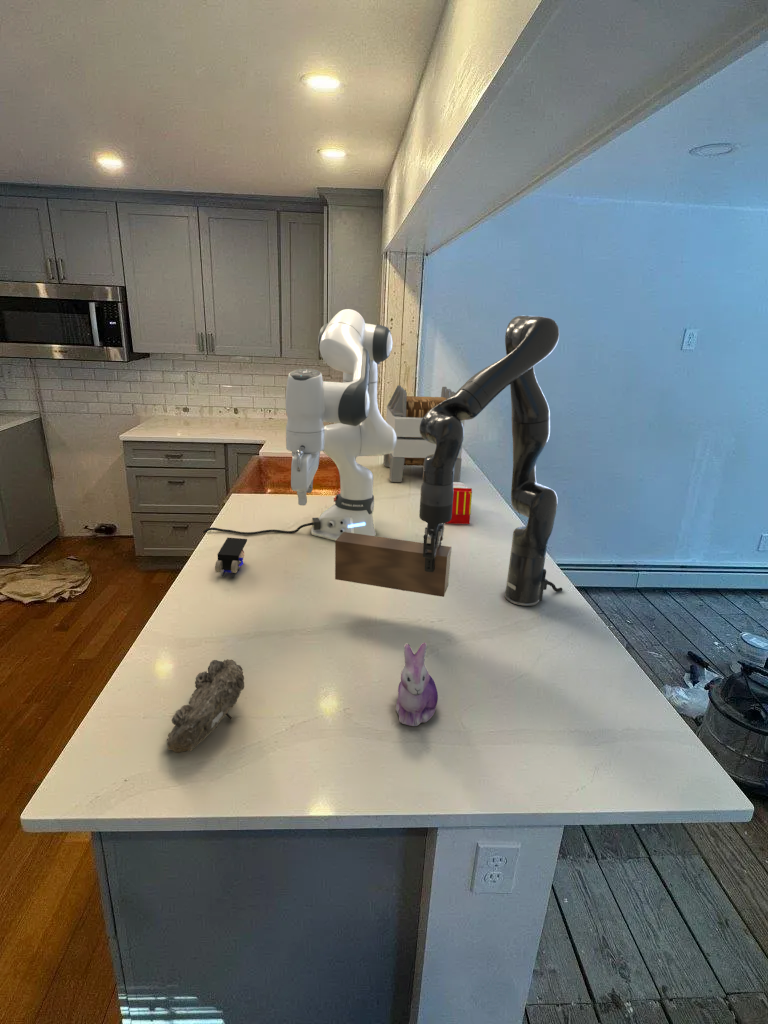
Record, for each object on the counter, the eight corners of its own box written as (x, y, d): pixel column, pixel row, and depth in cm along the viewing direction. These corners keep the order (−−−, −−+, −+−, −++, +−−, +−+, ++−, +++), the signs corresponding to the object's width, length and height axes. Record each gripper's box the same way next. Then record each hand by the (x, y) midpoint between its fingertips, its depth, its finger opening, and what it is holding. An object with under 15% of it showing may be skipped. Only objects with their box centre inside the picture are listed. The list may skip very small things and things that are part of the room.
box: (334, 579, 142) (335, 540, 138) (343, 569, 147) (343, 531, 144) (443, 597, 135) (447, 556, 131) (448, 585, 141) (451, 546, 137)
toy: (463, 477, 236) (476, 489, 206) (461, 509, 239) (474, 525, 209) (433, 476, 235) (443, 488, 206) (432, 508, 238) (441, 524, 209)
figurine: (408, 735, 105) (412, 667, 100) (382, 702, 114) (386, 638, 109) (450, 721, 110) (457, 654, 105) (423, 690, 118) (428, 627, 113)
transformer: (382, 463, 289) (386, 382, 275) (445, 464, 293) (451, 384, 279) (390, 482, 257) (394, 392, 243) (460, 483, 261) (468, 394, 247)
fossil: (192, 660, 117) (244, 628, 112) (224, 691, 120) (276, 661, 115) (142, 746, 98) (202, 712, 93) (182, 779, 101) (242, 748, 96)
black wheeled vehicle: (238, 584, 162) (249, 557, 175) (236, 562, 158) (247, 536, 172) (215, 584, 161) (227, 556, 175) (212, 561, 158) (225, 535, 171)
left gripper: (312, 452, 122) (312, 513, 126) (324, 433, 141) (323, 486, 146) (283, 451, 122) (284, 512, 126) (298, 432, 141) (299, 485, 146)
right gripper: (447, 511, 123) (442, 580, 129) (457, 492, 136) (452, 556, 142) (413, 507, 125) (410, 575, 131) (426, 489, 138) (422, 551, 144)
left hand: (305, 498), depth 136 cm, fingers open, 8 cm apart
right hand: (432, 565), depth 137 cm, fingers closed on box, 6 cm apart
